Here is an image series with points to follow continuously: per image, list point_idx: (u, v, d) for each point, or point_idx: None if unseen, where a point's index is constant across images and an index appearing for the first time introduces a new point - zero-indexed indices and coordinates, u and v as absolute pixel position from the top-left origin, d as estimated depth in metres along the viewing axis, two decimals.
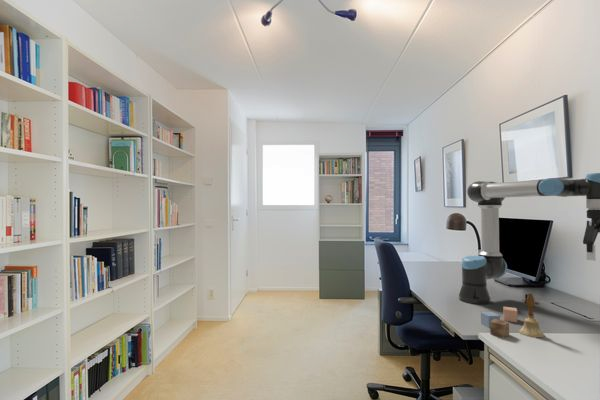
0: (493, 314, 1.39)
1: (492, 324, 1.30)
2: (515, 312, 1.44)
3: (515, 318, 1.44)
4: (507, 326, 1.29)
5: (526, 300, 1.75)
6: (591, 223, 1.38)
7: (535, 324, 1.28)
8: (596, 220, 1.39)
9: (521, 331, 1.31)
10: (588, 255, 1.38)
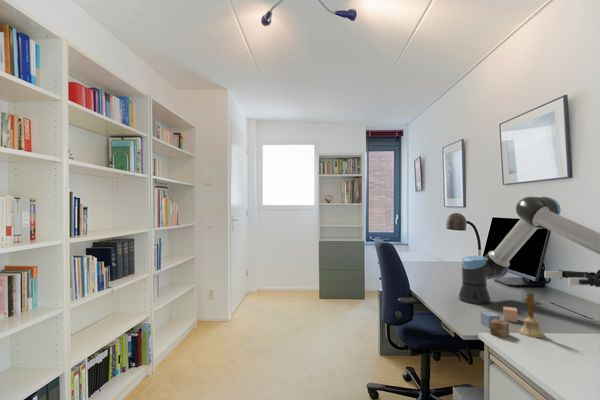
0: (493, 314, 1.39)
1: (492, 324, 1.30)
2: (515, 312, 1.44)
3: (515, 318, 1.44)
4: (507, 326, 1.29)
5: None
6: None
7: (535, 324, 1.28)
8: None
9: (521, 331, 1.31)
10: (575, 279, 1.23)
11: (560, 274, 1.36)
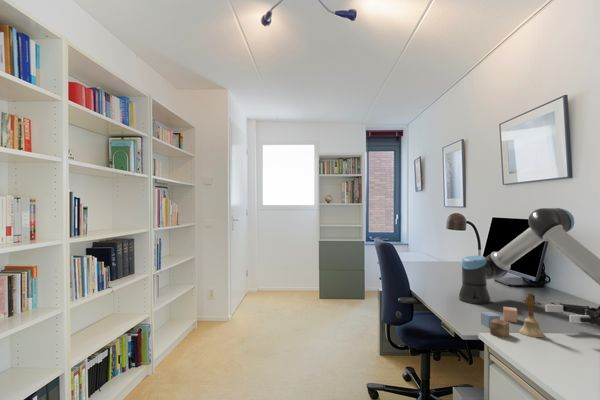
0: (493, 314, 1.39)
1: (492, 324, 1.30)
2: (515, 312, 1.44)
3: (515, 318, 1.44)
4: (507, 326, 1.29)
5: None
6: None
7: (535, 324, 1.28)
8: None
9: (521, 331, 1.31)
10: (576, 317, 1.23)
11: (561, 308, 1.36)
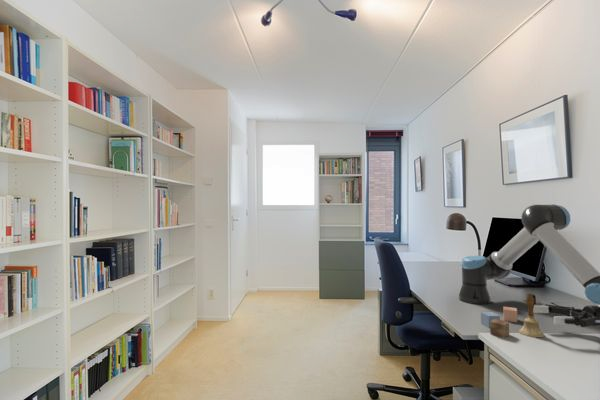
0: (493, 314, 1.39)
1: (492, 324, 1.30)
2: (515, 312, 1.44)
3: (515, 318, 1.44)
4: (507, 326, 1.29)
5: None
6: (598, 322, 1.22)
7: (535, 324, 1.28)
8: None
9: (521, 331, 1.31)
10: (560, 318, 1.23)
11: (546, 309, 1.36)
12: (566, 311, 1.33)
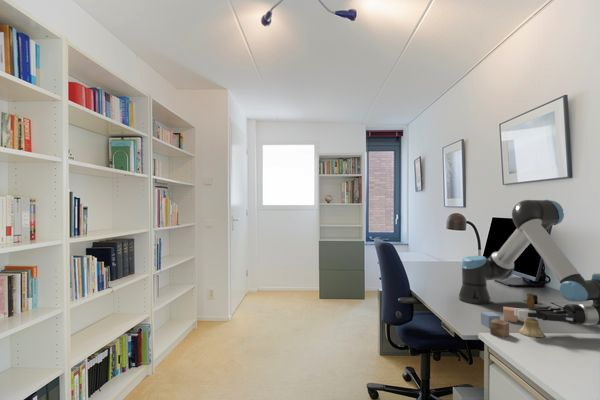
0: (493, 314, 1.39)
1: (492, 324, 1.30)
2: None
3: (515, 318, 1.44)
4: (507, 326, 1.29)
5: None
6: (568, 320, 1.24)
7: (535, 324, 1.28)
8: (573, 319, 1.26)
9: (521, 331, 1.31)
10: (523, 312, 1.30)
11: None
12: (549, 312, 1.31)
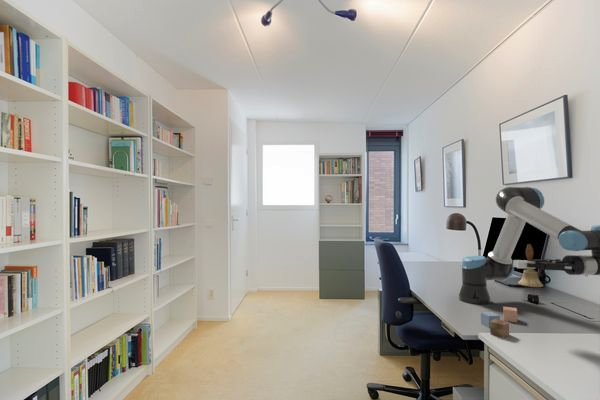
0: (493, 314, 1.39)
1: (492, 324, 1.30)
2: (515, 312, 1.44)
3: (515, 318, 1.44)
4: (507, 326, 1.29)
5: (534, 301, 1.74)
6: (567, 269, 1.24)
7: (534, 274, 1.29)
8: (572, 269, 1.26)
9: (520, 282, 1.32)
10: (522, 262, 1.30)
11: None
12: None
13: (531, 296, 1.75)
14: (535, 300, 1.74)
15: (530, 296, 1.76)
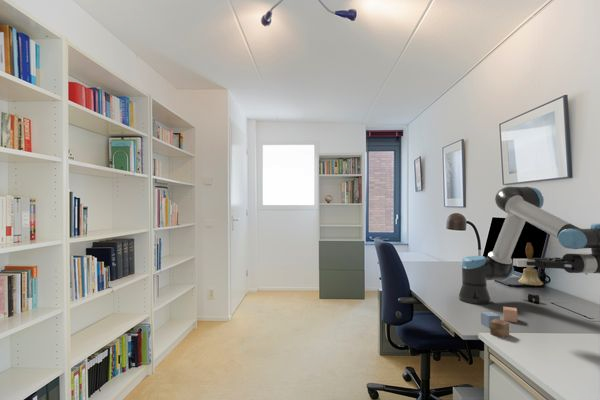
0: (493, 314, 1.39)
1: (492, 324, 1.30)
2: (515, 312, 1.44)
3: (515, 318, 1.44)
4: (507, 326, 1.29)
5: (535, 301, 1.74)
6: (567, 267, 1.25)
7: (534, 273, 1.29)
8: (571, 267, 1.26)
9: (520, 280, 1.32)
10: (522, 261, 1.30)
11: None
12: None
13: (532, 296, 1.75)
14: (536, 300, 1.74)
15: (531, 296, 1.76)
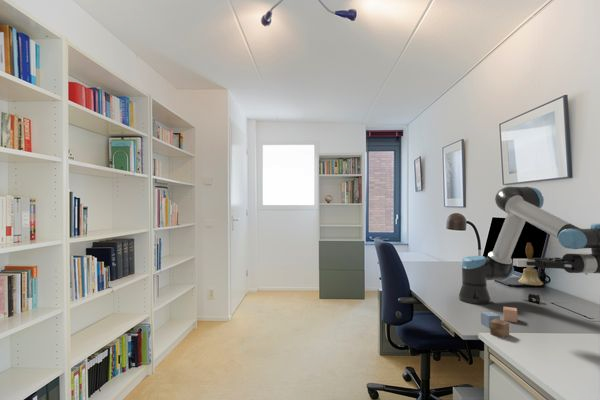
0: (493, 314, 1.39)
1: (492, 324, 1.30)
2: (515, 312, 1.44)
3: (515, 318, 1.44)
4: (507, 326, 1.29)
5: (536, 301, 1.74)
6: (567, 267, 1.25)
7: (534, 273, 1.29)
8: (571, 267, 1.26)
9: (520, 280, 1.32)
10: (522, 261, 1.30)
11: None
12: None
13: (533, 296, 1.75)
14: (537, 300, 1.74)
15: (531, 296, 1.76)
